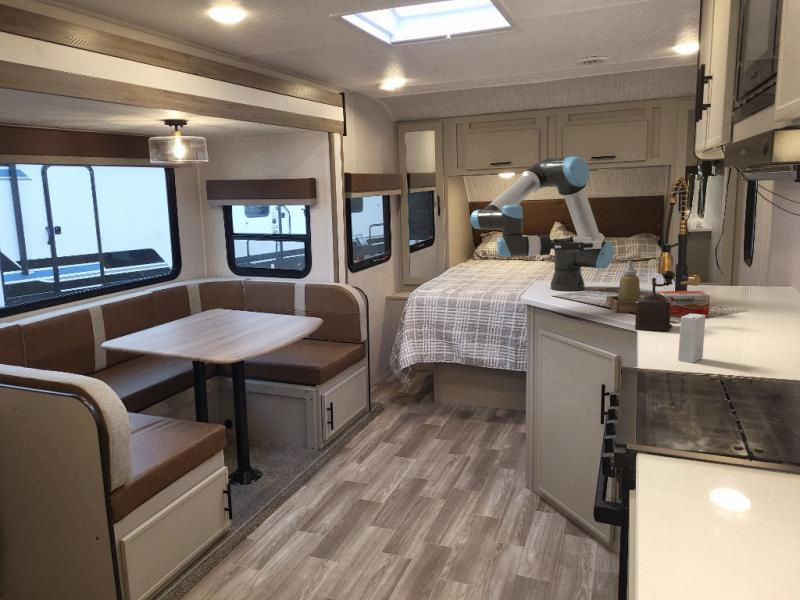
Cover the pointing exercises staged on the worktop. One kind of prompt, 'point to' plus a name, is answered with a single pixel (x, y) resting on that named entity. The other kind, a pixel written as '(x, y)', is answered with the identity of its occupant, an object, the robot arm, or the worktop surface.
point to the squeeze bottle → (629, 285)
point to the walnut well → (621, 305)
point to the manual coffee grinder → (655, 308)
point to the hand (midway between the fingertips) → (595, 242)
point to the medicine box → (688, 302)
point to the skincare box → (691, 338)
